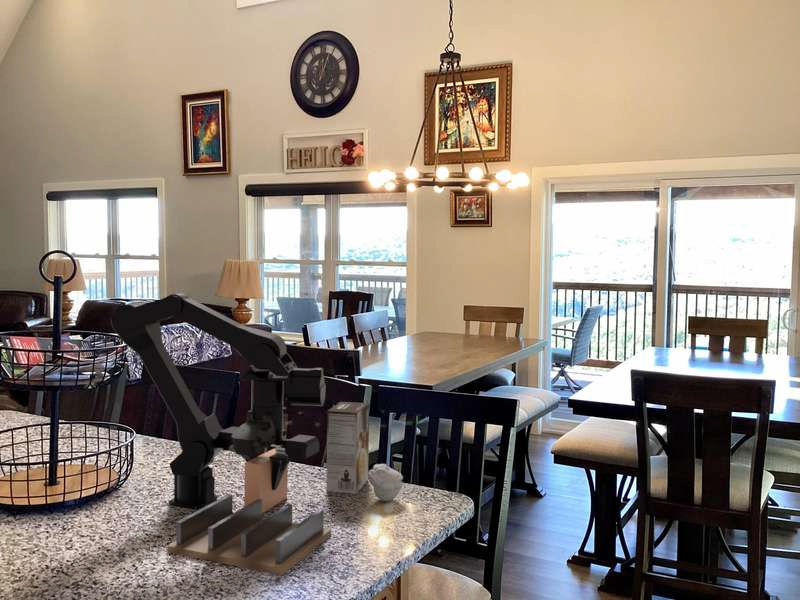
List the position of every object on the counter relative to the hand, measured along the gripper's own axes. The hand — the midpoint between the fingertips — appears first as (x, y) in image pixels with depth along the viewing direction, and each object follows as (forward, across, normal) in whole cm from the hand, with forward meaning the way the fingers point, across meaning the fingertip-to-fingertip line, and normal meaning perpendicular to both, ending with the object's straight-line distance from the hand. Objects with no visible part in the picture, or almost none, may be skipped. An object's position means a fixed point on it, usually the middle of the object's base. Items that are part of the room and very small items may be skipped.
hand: (266, 488), depth 132 cm
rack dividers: (+3, +7, -16) cm, 18 cm away
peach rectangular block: (+3, 0, 0) cm, 3 cm away
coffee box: (+3, +9, +16) cm, 19 cm away
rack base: (+3, +7, -16) cm, 18 cm away
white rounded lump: (+3, +19, +11) cm, 22 cm away
